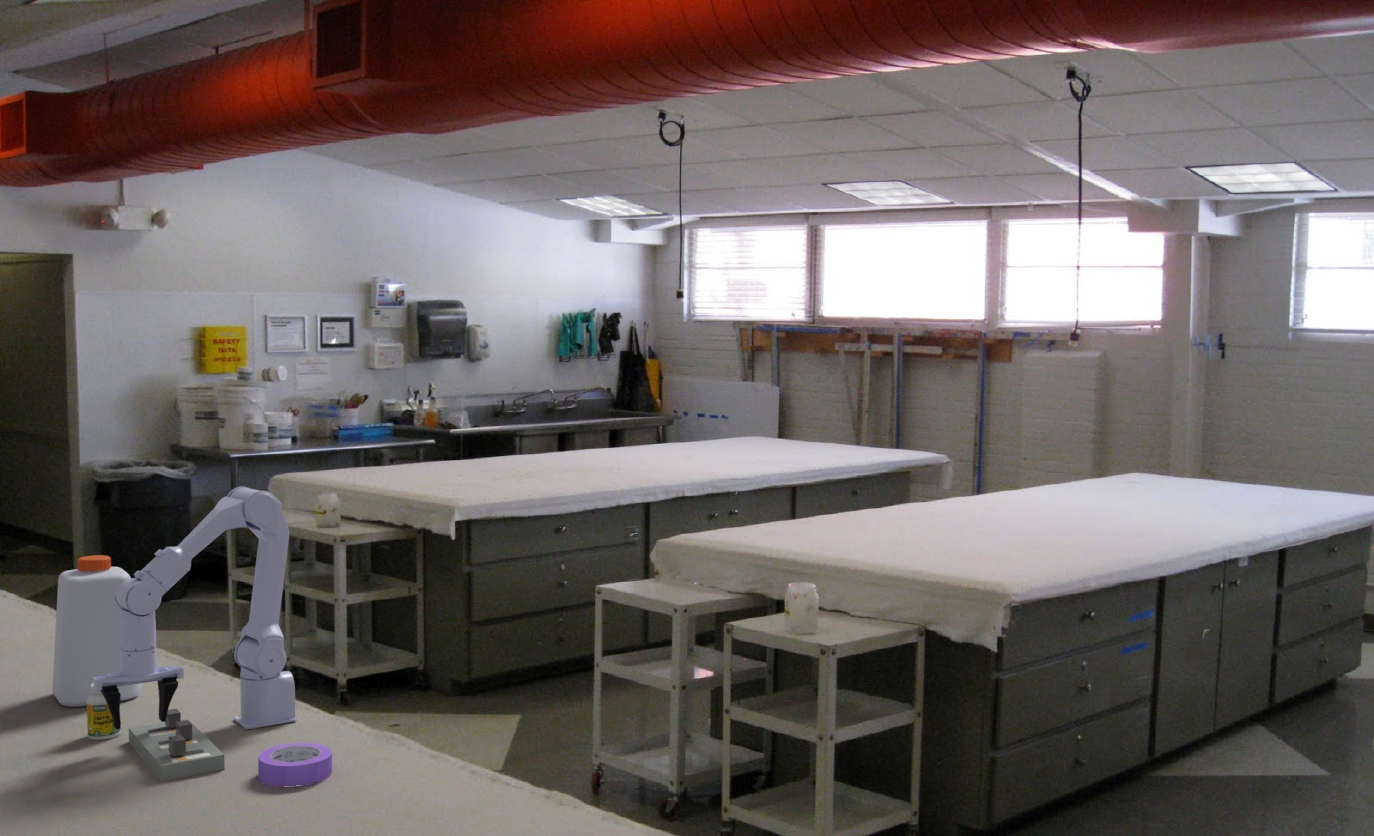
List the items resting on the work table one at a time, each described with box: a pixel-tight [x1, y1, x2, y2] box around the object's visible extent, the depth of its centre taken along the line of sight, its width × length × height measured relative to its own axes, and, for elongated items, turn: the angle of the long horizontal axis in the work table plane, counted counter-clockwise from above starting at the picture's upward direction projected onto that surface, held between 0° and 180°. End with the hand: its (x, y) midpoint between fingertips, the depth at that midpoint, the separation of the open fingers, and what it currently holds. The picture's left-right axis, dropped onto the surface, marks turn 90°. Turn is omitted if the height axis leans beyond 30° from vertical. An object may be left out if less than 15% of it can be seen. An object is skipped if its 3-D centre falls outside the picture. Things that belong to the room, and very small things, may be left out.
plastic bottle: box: [52, 554, 142, 708], centre depth 253 cm, size 15×15×28 cm
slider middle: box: [176, 719, 193, 739], centre depth 220 cm, size 2×3×2 cm, turn 35°
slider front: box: [169, 735, 186, 756], centre depth 211 cm, size 2×3×2 cm, turn 35°
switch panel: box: [128, 718, 226, 782], centre depth 219 cm, size 10×24×3 cm, turn 35°
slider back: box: [165, 708, 182, 728], centre depth 226 cm, size 2×3×2 cm, turn 35°
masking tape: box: [257, 742, 333, 788], centre depth 210 cm, size 12×12×4 cm
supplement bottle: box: [86, 684, 121, 741], centre depth 229 cm, size 5×5×10 cm
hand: (140, 723), depth 223 cm, fingers open, 7 cm apart
